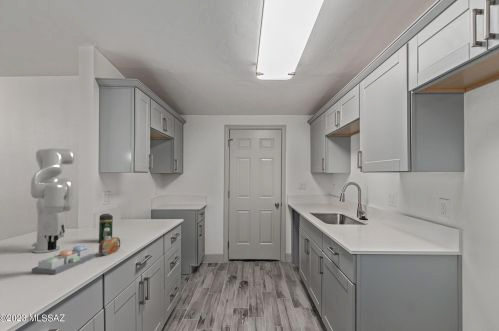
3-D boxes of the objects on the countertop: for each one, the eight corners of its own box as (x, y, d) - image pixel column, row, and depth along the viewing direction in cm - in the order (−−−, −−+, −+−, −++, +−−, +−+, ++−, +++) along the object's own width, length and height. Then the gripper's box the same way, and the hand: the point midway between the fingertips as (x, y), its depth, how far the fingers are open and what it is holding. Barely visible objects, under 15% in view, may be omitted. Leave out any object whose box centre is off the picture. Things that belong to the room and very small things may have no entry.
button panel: (55, 274, 121) (56, 263, 121) (31, 273, 122) (32, 261, 122) (94, 257, 145) (94, 248, 146) (74, 256, 147) (74, 247, 147)
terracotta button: (57, 258, 132) (57, 252, 132) (65, 256, 137) (65, 249, 137) (66, 259, 131) (66, 253, 131) (74, 256, 136) (74, 250, 136)
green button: (41, 267, 123) (42, 261, 123) (51, 264, 128) (51, 257, 128) (51, 268, 123) (51, 261, 123) (60, 264, 128) (60, 258, 128)
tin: (102, 257, 147) (102, 241, 147) (97, 257, 148) (97, 241, 148) (120, 250, 162) (121, 235, 162) (116, 249, 162) (116, 235, 163)
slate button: (70, 254, 140) (71, 248, 140) (78, 251, 145) (78, 245, 145) (79, 254, 140) (79, 248, 140) (86, 251, 145) (86, 246, 145)
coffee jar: (98, 240, 184) (98, 213, 185) (111, 239, 188) (111, 212, 189) (99, 243, 176) (100, 215, 177) (112, 242, 180) (113, 214, 181)
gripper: (31, 210, 124) (30, 251, 123) (61, 211, 122) (59, 252, 121) (46, 208, 131) (44, 246, 131) (74, 209, 129) (72, 248, 129)
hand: (51, 249), depth 126 cm, fingers closed
